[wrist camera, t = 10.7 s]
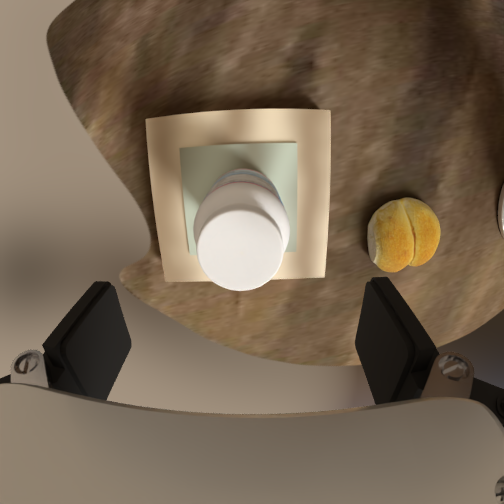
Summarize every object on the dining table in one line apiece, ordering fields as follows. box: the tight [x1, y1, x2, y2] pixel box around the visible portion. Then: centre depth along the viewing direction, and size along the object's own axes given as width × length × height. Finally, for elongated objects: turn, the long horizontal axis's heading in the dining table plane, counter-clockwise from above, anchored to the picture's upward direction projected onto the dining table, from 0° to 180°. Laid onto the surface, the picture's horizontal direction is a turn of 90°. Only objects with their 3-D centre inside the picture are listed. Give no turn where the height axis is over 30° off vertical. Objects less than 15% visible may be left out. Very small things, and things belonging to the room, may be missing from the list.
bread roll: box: [367, 197, 440, 272], centre depth 29 cm, size 8×9×4 cm
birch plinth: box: [146, 109, 331, 282], centre depth 27 cm, size 16×16×3 cm
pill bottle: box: [193, 169, 290, 291], centre depth 21 cm, size 6×6×11 cm
